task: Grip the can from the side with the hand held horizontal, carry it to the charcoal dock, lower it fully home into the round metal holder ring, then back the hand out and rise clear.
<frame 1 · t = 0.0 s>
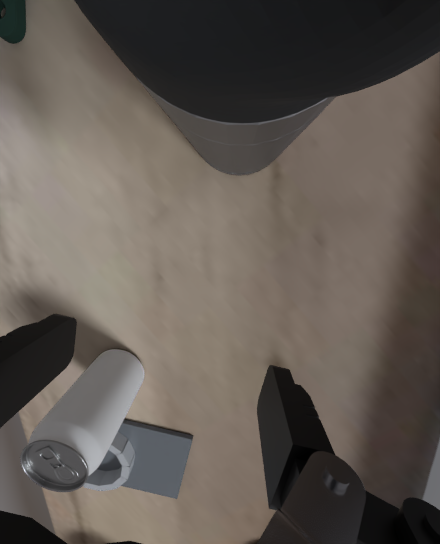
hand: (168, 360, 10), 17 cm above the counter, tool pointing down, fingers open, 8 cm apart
can: (121, 368, 32), on the counter
holder: (103, 447, 35), on the counter
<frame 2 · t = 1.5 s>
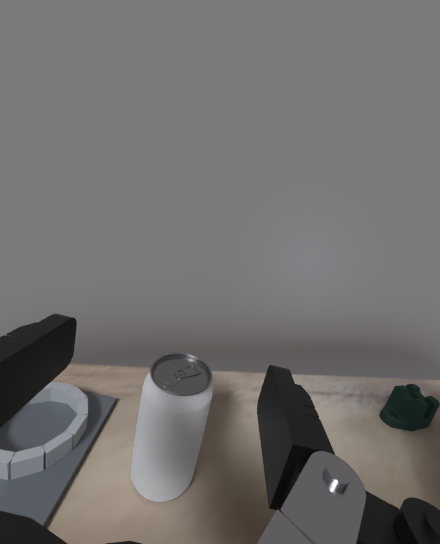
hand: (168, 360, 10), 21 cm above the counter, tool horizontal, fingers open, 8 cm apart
mount: (404, 418, 41), on the counter
can: (162, 469, 26), on the counter
holder: (35, 434, 26), on the counter
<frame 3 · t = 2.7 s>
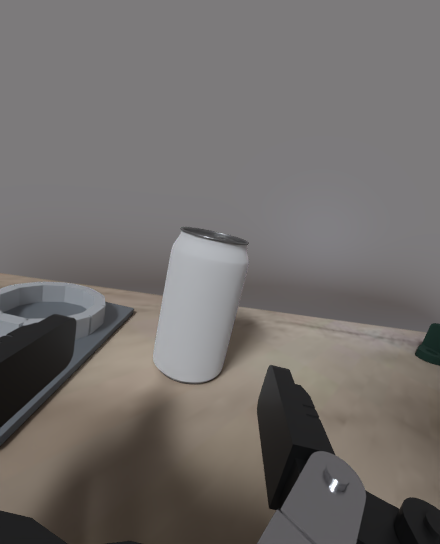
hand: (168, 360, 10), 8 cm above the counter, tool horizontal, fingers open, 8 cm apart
can: (187, 363, 23), on the counter
holder: (48, 323, 24), on the counter
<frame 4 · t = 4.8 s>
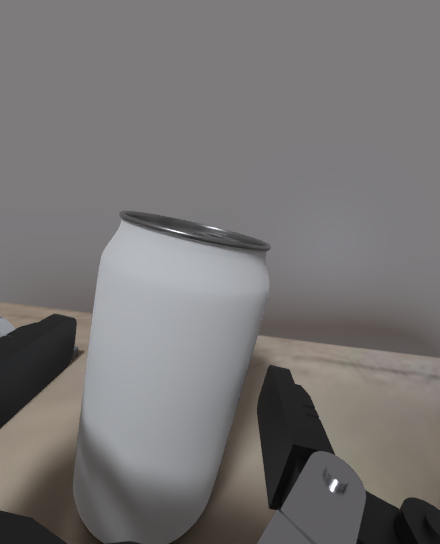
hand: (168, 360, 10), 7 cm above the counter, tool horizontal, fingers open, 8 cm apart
can: (147, 472, 12), on the counter
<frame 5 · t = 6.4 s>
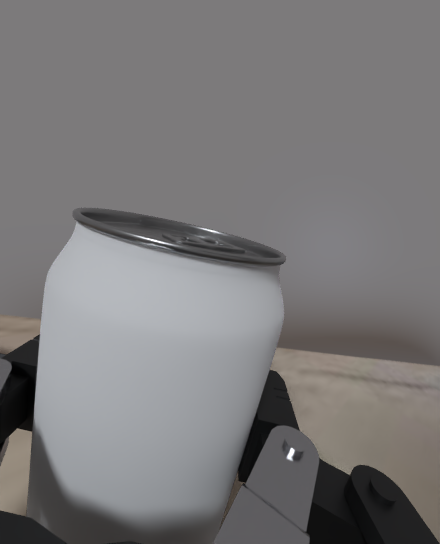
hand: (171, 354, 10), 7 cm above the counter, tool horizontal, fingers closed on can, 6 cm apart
can: (126, 536, 10), on the counter, touching gripper
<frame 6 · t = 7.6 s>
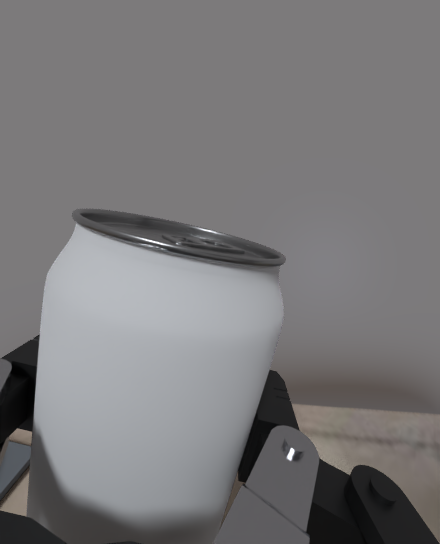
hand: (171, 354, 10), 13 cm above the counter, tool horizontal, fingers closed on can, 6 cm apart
can: (126, 536, 10), point 7 cm above the counter, touching gripper
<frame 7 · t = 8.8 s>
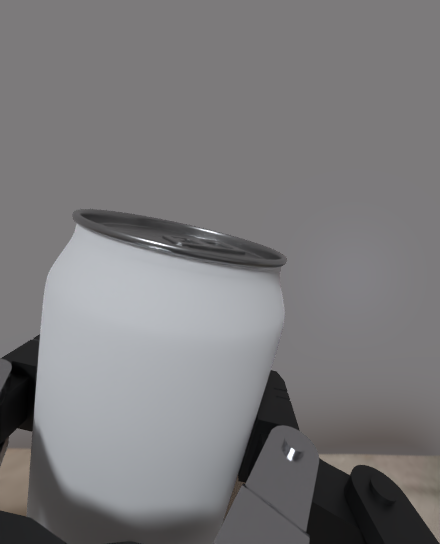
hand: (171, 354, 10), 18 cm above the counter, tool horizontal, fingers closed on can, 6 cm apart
can: (126, 538, 10), point 11 cm above the counter, touching gripper
when the fingers open (8 cm above the counter, at t = 12.2 s): can drops 1 cm, resting on holder.
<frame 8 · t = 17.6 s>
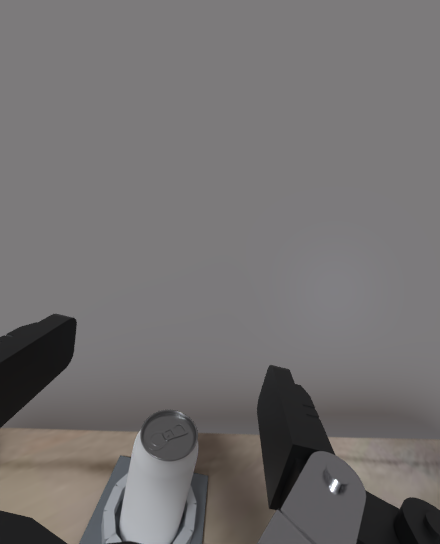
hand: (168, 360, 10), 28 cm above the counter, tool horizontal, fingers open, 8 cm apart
can: (150, 521, 27), resting on holder
holder: (148, 523, 27), on the counter
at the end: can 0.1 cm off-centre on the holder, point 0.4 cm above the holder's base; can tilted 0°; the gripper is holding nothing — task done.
